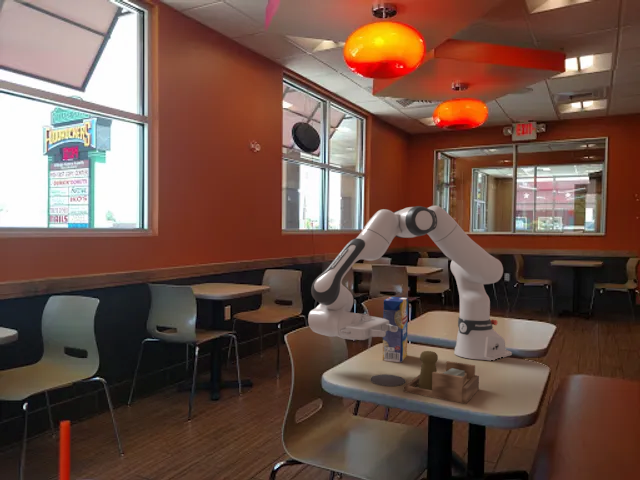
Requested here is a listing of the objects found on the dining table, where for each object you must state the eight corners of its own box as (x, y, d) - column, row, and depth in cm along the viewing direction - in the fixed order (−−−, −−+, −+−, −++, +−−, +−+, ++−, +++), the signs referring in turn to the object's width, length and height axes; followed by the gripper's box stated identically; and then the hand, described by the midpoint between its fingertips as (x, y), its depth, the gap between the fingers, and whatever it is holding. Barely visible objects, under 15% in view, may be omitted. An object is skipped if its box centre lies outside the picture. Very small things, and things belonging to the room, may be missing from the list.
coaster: (391, 373, 161) (391, 372, 161) (412, 383, 151) (412, 382, 151) (363, 378, 156) (363, 377, 156) (384, 388, 146) (384, 387, 146)
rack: (403, 391, 144) (403, 367, 143) (420, 378, 156) (421, 356, 156) (465, 403, 134) (466, 378, 134) (478, 389, 147) (479, 366, 147)
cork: (435, 384, 150) (436, 349, 150) (440, 391, 144) (441, 354, 144) (416, 384, 150) (416, 349, 150) (420, 390, 144) (421, 354, 144)
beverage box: (407, 355, 185) (408, 297, 185) (401, 362, 175) (402, 301, 174) (389, 353, 188) (390, 296, 187) (382, 360, 177) (383, 300, 177)
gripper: (337, 321, 151) (377, 326, 144) (365, 312, 169) (403, 317, 162) (336, 341, 152) (377, 347, 144) (365, 330, 169) (402, 336, 162)
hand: (391, 331), depth 153 cm, fingers open, 8 cm apart
